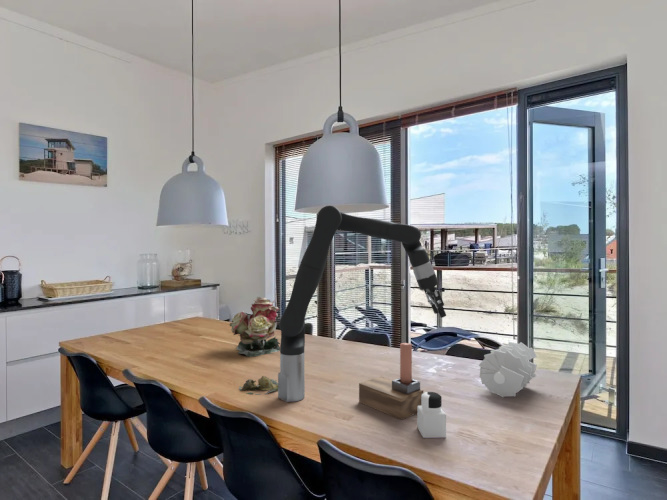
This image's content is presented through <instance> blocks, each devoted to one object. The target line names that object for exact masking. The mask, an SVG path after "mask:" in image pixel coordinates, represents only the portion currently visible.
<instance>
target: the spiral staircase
mask: <svg viewBox="0 0 667 500" xmlns="http://www.w3.org/2000/svg"><path fill="white" fill-rule="evenodd" d="M534 358H538V356H537V355H536V352H535V350H534V348H533V347H528V346H527V344H524V343H523V342H522V341H520V342H519V343H517V342H511V341H508V343H507V344H505V345H504V344H502V346H498V349H493V350H490V353H487V354H484V355H483V360H481V362H480V363H479V365H478V366H479V367H480V370H479V378H480V381H481V384H482V385H484V386H485V387H486V388H487V390H488V391H489V392H490V394H495V395H498V396H499V397H502V398H503V399H505V397H516V394H517V393H520V391H521V390H523V389H524V388H526V387H528V384H530V383H531V381H532V380H533V379H534V378H536V377H537V374H536V373H535V372H536V368H537V366H538V365H537V364H536V363H534V362H531V361H530V360H533V359H534Z"/></svg>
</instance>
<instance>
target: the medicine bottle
mask: <svg viewBox="0 0 667 500" xmlns="http://www.w3.org/2000/svg"><path fill="white" fill-rule="evenodd" d="M442 404H443V403H442V395H441V394H439V393H437V392H434V391H426V392H423V394H422V395H421V406H417V413H416V414H417V422H416V423H417V429H418V431H419V433H420V435H421V436H422V439H425V438H426V439H430V438H431V439H435V438H436V439H437V438H438V439H439V438H441V439H442V438H447V414H446V412H445V411H444V410H443V408H442V406H443V405H442Z"/></svg>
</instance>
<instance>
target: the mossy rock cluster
mask: <svg viewBox="0 0 667 500" xmlns="http://www.w3.org/2000/svg"><path fill="white" fill-rule="evenodd" d="M256 382H257V384H256ZM238 389H239V391H263V392H264V391H268V392H267V393H265V395H267V394H269V393H271V392H276V391H277V392H278V381H277V380H275V379H272V378H270V377H267V376H261V377H260V378H258V380H257V381H256V380H254V379H251V378H248V379H247V380H245V383H243V386H239V388H238ZM246 394H247V395H255V396H261V393H254V392H246Z"/></svg>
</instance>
